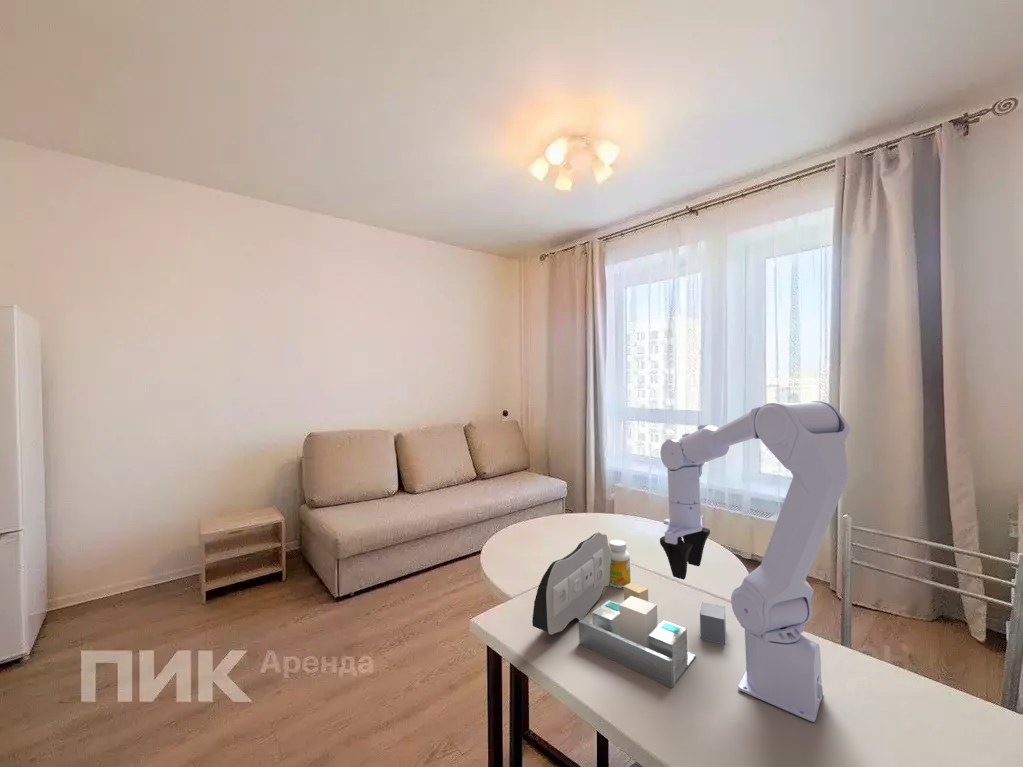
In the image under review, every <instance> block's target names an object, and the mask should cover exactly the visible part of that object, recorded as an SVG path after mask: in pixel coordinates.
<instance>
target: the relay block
mask: <svg viewBox="0 0 1023 767" xmlns="http://www.w3.org/2000/svg"><path fill="white" fill-rule="evenodd" d="M726 620H727V619H726V606H724V605H719V604H714V603H709V602H705V601H701V606H700V611H699V624H700V625H699V628H700V639H701V640H704V641H709V642H713V643H718V644H722V645H726V640H727V639H726V638H727V627H726V624H727V623H726Z"/></svg>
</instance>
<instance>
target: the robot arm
mask: <svg viewBox="0 0 1023 767" xmlns="http://www.w3.org/2000/svg"><path fill="white" fill-rule="evenodd" d="M850 430H851V426H850V425H849V424H848V422H847V421H846V420H845V418H844V416H843V415H842V413H841V412H840V410H839V409H838V408H837V407H836V406H834V405H833V404H831V403H830V402H827V401H824V400H813V401H808V402H789V403H787V402H786V403H785V402H784V403H780V402H768V403H766V404H763V405H762V406H758V407H754V408H752V409H751V410H750V411H749V412H747V413H745V414H743V415H741V416H739V417H737V418H735V419H734V420H732V421H730V422H728V423H726V424H723V425H722V426H720V427H718V426H715V425H709V424H700V425H698V426H697V430H696V431H694V432H691V433H684V434H682V435H681V436H682V437H681V438H680V439H672V438H671V439H670V438H669V439H668V438H667V439H666V441H664V442H663V443H662V445H661V447H660V452H659V453H660V459H661V462H662V464H663V466H664V467H665V468H666V469H667V484H668V485H667V488H668V489H667V490H668V491H667V492H668V515H669V516H668V517H669V518H665V519H664V520H663V524H664V525H665V526H666V525H667V529H666V530H665V531H664V535H663V536H662V537H660V538H659V545H660V546H661V547H662V549H663V551H664V553H665V555H666V557H667V560H668V563H669V567H670V570H671V574H672V577H674V578H677V579H680V580H683V581H684V580H685V579H686V577H687V572H688V565H692V566H696V567H700V566H701V563H702V560H703V554H704V548H705V544H706V541H707V540H708V537H709V536H710V534H711V530H710V528H706V527H703V526H704V525H705V521H704V519H705V518H704V515H702V511H701V490H700V489H701V487H700V486H701V485H700V484H701V483H700V478H701V477H702V475H703V466H704V465H705V463H707V462H710V461H713V460H715V459H716V460H717V459H719V458H721V457H724V456H726V455H727V454H728V452H729V450H730V446H733V445H735V444H740V443H742V442H746V441H749V440H751V439H754V440H756V439H757V440H758V439H760V441H761V442H762V443H763V445H764V446H765V447H766V448H767V449H768V450H769V451H770V452H771V454H772V455H773V456H774V457H775V458H776V459H777V460H778V461H779V462H780V464H781V465H783V467H784V468H785V469H787V470H789V471H790V473H791V474H792V479H791V482H790V485H789V487H788V490H787V493H786V495H785V498H784V501H783V504H782V507H781V509H780V512H779V515H778V517H777V520H776V521H775V525H774V528H773V530H772V533H771V536H770V539H769V541H768V544H767V547H766V550H765V552H764V555H763V558H762V560H761V563H760V565H758V567H756V568H755V569H754V570H752V571H751V572H750V573H748V574H747V575H746V576H745V577H744V578H743V580H742V582H741V584H740V585H739V586H738V587H735V589H734V590H733V591H732V593H731V595H730V596H731V597H730V604H731V608H732V612H733V614H734V617H735V618H736V620H737V621H738V623H739V624H740V626H741V628H743V629H744V642H745V643H744V645H745V648H744V649H745V667H746V669H745V672H744V674H743V676H742V677H741V679H740V681H739V683H738V684H737V688H738V690H739V691H740V692H743V693H745V694H748V695H750V696H752V697H754V698H756V699H758V700H761V701H763V702H766V703H768V704H771V705H773V706H775V707H777V708H779V709H781V710H784V711H786V712H788V713H791V714H793V715H796V716H798V717H800V718H803V719H805V720H807V721H810V722H811V723H812V722H816V719H817V716H818V712H819V709H820V705H821V701H822V700H823V693H824V691H823V684H822V682H823V681H822V662H821V650H820V649H821V648H820V644H819V643H817V642H816V641H814V640H812V639H809V638H807V637H805V636H804V635H802V633H804V624H807V623H808V622H809V621H810V620H811V618H812V615H813V608H812V597H813V594H814V592H815V590H814V589H813V587H812V586H811V585H810V583H809V582H808V581H807V578H808V575H809V573H810V570H811V567H812V566H813V563H814V560H815V558H816V556H817V553H818V551H819V549H820V546H821V544H822V542H823V539H824V537H825V535H826V532H827V530H828V527H829V525H830V523H831V520H832V518H833V517H834V516H833V515H834V513H835V511H836V508H837V506H838V504H839V503H840V502H839V501H840V499H841V496H842V494H843V493H844V492H843V491H844V489H845V488H846V484H847V482H848V478H849V473H848V463H847V461H848V460H847V452H846V450H847V449H846V444H845V443H846V441H847V438H848V436H849V434H850Z"/></svg>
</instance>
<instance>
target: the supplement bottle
mask: <svg viewBox="0 0 1023 767" xmlns="http://www.w3.org/2000/svg"><path fill="white" fill-rule="evenodd" d="M608 545H609V548H610V552H611V565H610V580H609V585H608V586H610V587H612V586H613V587H612V588H616V587H617V589H623V588H622V587H623V586H625V585H627V584H629V583H632V582H631V558H630V557H631V556H630V553H629V552H628V550H627V542H626V541H625V540H621V539H611V540H609V541H608Z"/></svg>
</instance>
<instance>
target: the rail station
mask: <svg viewBox="0 0 1023 767" xmlns="http://www.w3.org/2000/svg"><path fill="white" fill-rule="evenodd" d="M620 604H621V603H618V602H615V601H612V600H606V602H604V603H603V604H602V605H600V606H599V607H597V608H596V609H594V610H593V611H591V617H592V618H591V619H592V623H590V622H587V621H585V620H583V619H582V620H578V644H579V645H582V646H583V647H585V648H587V649H589V650H592V651H593V652H596V653H597V654H600V655H602V656H603V657H606V658H608V659H610V660H613V661H614V662H616V663H618V664H620V665H622V666H625V667H627V668H629V669H631V670H633V671H635V672H637V673H638V674H641V675H643V676H645V677H648V678H650V679H651V680H654V681H656V682H658V683H659V684H662V685H665V686H666V687H668V688H670V689H673V687H674V686H675V685H676V684H677V682H678V681H679V680H680V679H681V677H682V676H683V674H684V673H685V672H686V671H687V669H688V668H689V667H690V665H691V664H692V663H693V662H694V660H695V659H696V656H697V655H696V654H693V653H692V652H688V635H687V634H688V633H687V632H688V631H687V628H685V627H684V626H679V625H677V624H675V623H672V622H669V621H666V620H663V621H661V623H659V624H658V626H657V627H656V628H655V629H654V630H653V631H652V632H651V633H650V634H649V635H648V636H649V649H648V648H646V647H644V646H641V645H639V644H637V643H634V642H632V641H630V640H627V639H625V638H623V637H620V610H619V605H620Z"/></svg>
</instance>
